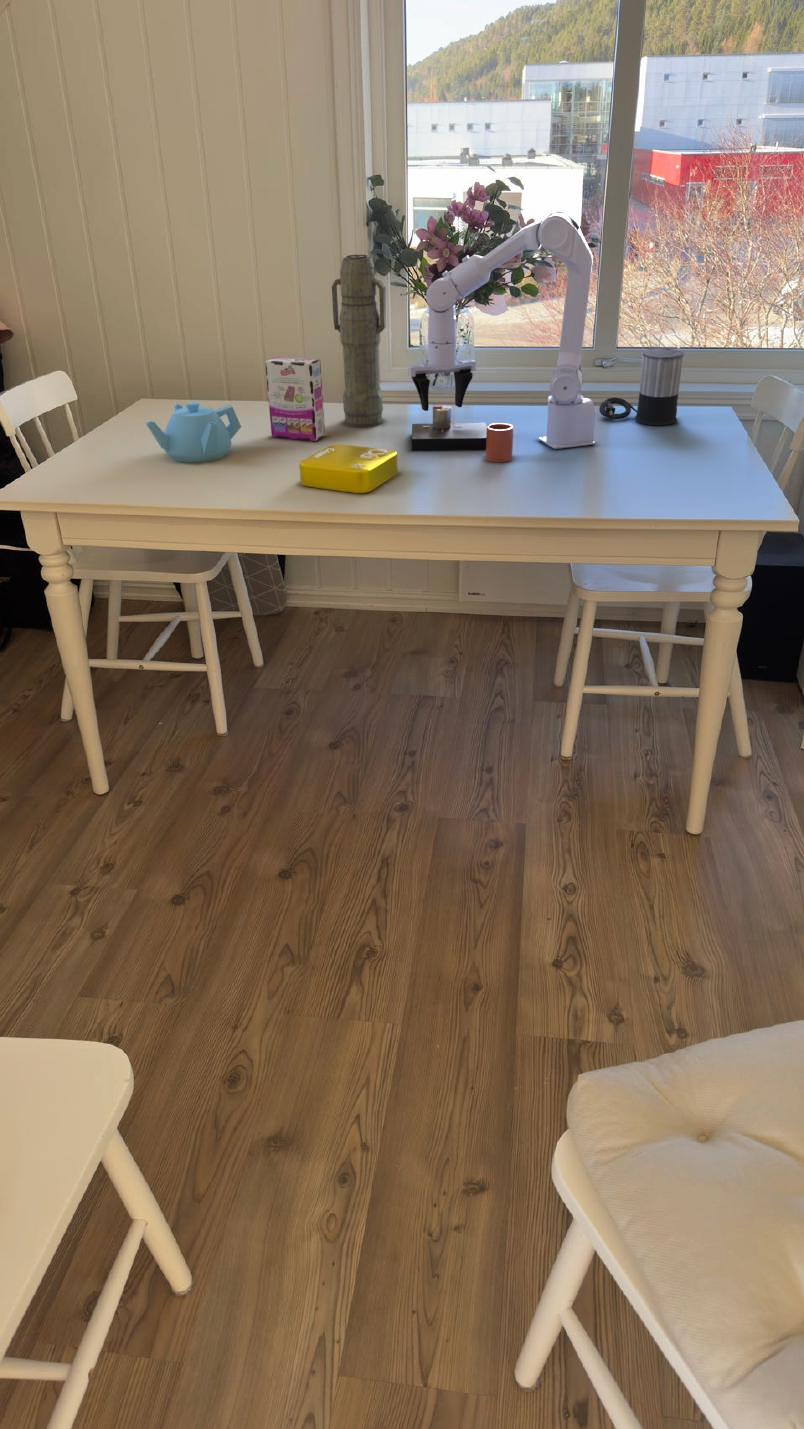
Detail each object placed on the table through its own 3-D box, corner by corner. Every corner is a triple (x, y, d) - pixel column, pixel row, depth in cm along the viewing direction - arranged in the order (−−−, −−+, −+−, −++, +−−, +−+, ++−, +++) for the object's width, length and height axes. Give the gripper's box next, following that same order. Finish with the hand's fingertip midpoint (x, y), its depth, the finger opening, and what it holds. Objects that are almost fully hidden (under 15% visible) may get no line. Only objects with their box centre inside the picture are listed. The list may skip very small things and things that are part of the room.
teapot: (218, 467, 207) (212, 414, 201) (149, 464, 210) (142, 410, 205) (245, 446, 220) (240, 395, 214) (180, 443, 223) (174, 392, 217)
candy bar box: (326, 436, 225) (321, 358, 217) (316, 442, 221) (311, 363, 213) (281, 431, 229) (275, 355, 221) (270, 437, 225) (263, 360, 217)
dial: (451, 424, 222) (451, 404, 220) (451, 429, 219) (451, 408, 217) (432, 424, 222) (432, 404, 220) (432, 429, 219) (432, 409, 217)
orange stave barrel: (505, 453, 211) (506, 422, 208) (516, 460, 207) (517, 428, 204) (481, 456, 210) (482, 424, 206) (492, 463, 205) (492, 431, 202)
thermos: (385, 427, 230) (380, 258, 212) (334, 426, 232) (325, 258, 214) (393, 417, 238) (388, 253, 220) (343, 416, 239) (335, 253, 222)
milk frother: (684, 424, 228) (692, 355, 220) (618, 430, 225) (624, 360, 217) (656, 409, 240) (663, 342, 232) (593, 414, 237) (598, 347, 229)
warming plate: (485, 432, 225) (485, 420, 224) (488, 449, 214) (488, 437, 212) (412, 433, 226) (412, 421, 224) (411, 451, 214) (411, 438, 213)
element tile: (334, 464, 207) (333, 440, 205) (401, 472, 202) (400, 448, 199) (296, 485, 196) (294, 461, 193) (366, 495, 190) (365, 470, 188)
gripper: (467, 335, 217) (466, 400, 224) (402, 340, 213) (403, 407, 220) (480, 341, 211) (478, 408, 218) (413, 347, 207) (414, 414, 214)
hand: (441, 408), depth 219 cm, fingers open, 7 cm apart
